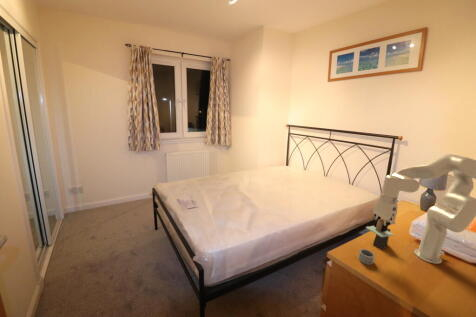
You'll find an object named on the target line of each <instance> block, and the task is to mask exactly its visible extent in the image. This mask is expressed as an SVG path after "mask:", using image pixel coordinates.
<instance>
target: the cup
mask: <svg viewBox="0 0 476 317" xmlns="http://www.w3.org/2000/svg"><path fill="white" fill-rule="evenodd" d="M375 257H376V255H375V253H374V252H372V251H371V250H368V249H365V248H361V249H359V251H358V254H357V259H359V260H360V261H359V260H358V261H359V262H360V263H362V264H364V265H368V266H370V265H373V264H374V261H375Z"/></svg>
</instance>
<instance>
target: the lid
mask: <svg viewBox="0 0 476 317" xmlns="http://www.w3.org/2000/svg"><path fill="white" fill-rule="evenodd" d="M382 225H384V219H383V218H381V219H378V222H377V226H376V227H374V225H371V226H366V227H365V228H366V229H367V230H369V231H370V232H371V233H374V234H375V235H376V234H377V235H378V236H380V237H386V236H389V237H392V236H394V233H392V232H391V231H390V232H389V231H386V232H382V231H381V228H382Z"/></svg>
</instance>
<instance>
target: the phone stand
mask: <svg viewBox="0 0 476 317" xmlns="http://www.w3.org/2000/svg"><path fill="white" fill-rule="evenodd" d="M387 231H389V232H391V229H390V228H387ZM389 238H390V236H386V237H380V236H378V235H377V234H375V238H374V240H373V244H372V246H374V247H376V248H379V249H381V250H385V249H386V248H387V246H388V245H389V244H388V243H389Z"/></svg>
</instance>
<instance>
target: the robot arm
mask: <svg viewBox="0 0 476 317" xmlns="http://www.w3.org/2000/svg"><path fill="white" fill-rule="evenodd" d="M451 172H452V173H453V180H452V182H451V184H450V186H448V188H447V190H445V192H444V193H443V195H442V197H441V199H440V201H441V203H442V205H444V206H446V207H448V208H451V209H452V210H451V209H448V208H446V207H443V206H440V205H432V206H430V207H429V208H428V209H427V212H426V223H425V227H424V230H423V232H422V236H421V239H420V243H419V246H418V248H415V249H414V251H413V252H414V255H415V256H416V257H417V258H420V259H421V260H423V261H425V262H427V263H430V264H435V265H440V264H442V262H443V260H442V258H441V257H440V256H444V255H445V251H443V247H444V243H445V241H446V237H447V235H448V230H449V231H451V232H453V233H456V234H458V233H461V232H465V230H466V229H467V228H468V227H469V226H470V224H471V223H472V221H473V220H474V219H475V218H476V197H473V196H470V194H471V193H472V191H473V190H474V188H475V186H474V180H473V179H475V180H476V159H473V158H470V157H465V156H461V155H456V154H451V153H449V154H448V153H447V154H445V155H444V154H443V155H442V156H440V157H438V158H436V159H434V160H432V161H430V162H428V163H425V164H419V165H415V166H408V167H405V168H402V169H400V170H398V171H395V172H394V173H393V174H387V175H386V176H385V178H384V180H383V184H382V189H381V191H380V195H379V196H380V197H378V199H377V201H376V204H375V206H374V209H373V210H372V214H373V216H374V220H375V221H374V225H373V226H374V227H376V226H377V222H378V219H383V220H384V225H382V228H381V231H382V232H386V231H387V229H389V227H390V226H391V225H396V219H397V218H396V217H397V216H398V215H397V214H398V203H399V200H398V198H399V193H400V192H405V193H409V194H410V193H416V192H417V191H419V189H420V183H419V181H417V180H416V179H420V180H422V179H423V180H436V179H439V178H440V177H442V176H444V175H447V174H448V173H451ZM453 210H455V211H456V212H455V211H453Z"/></svg>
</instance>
